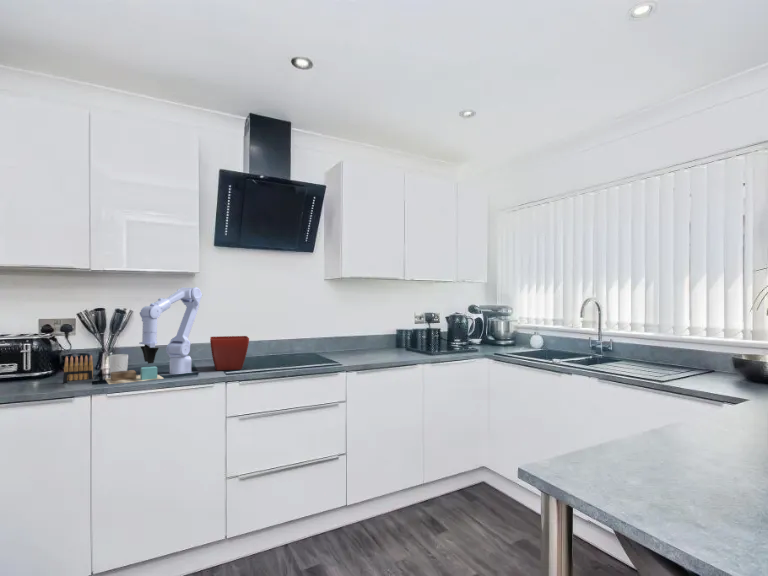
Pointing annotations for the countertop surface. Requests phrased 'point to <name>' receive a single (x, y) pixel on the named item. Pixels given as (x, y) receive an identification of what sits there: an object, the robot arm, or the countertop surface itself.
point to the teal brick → (148, 373)
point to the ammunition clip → (78, 369)
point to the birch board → (130, 380)
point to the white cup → (118, 362)
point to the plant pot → (229, 351)
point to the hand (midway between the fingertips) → (149, 362)
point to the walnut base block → (123, 375)
